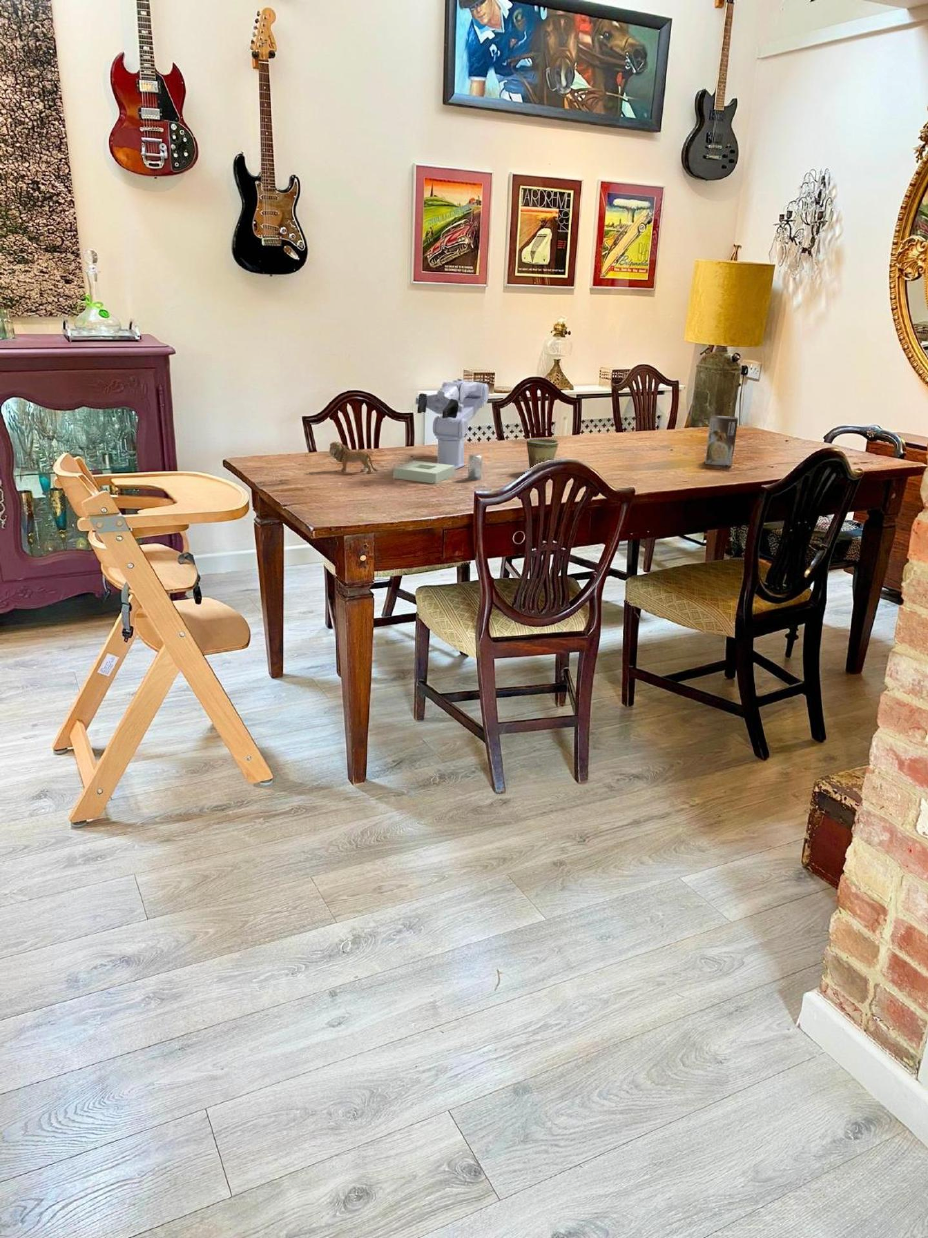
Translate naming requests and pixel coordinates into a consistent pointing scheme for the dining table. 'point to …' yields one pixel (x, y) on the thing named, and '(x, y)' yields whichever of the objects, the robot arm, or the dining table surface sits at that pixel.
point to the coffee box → (721, 440)
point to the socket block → (424, 471)
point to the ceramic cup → (541, 450)
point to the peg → (475, 467)
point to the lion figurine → (350, 456)
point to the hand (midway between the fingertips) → (431, 412)
